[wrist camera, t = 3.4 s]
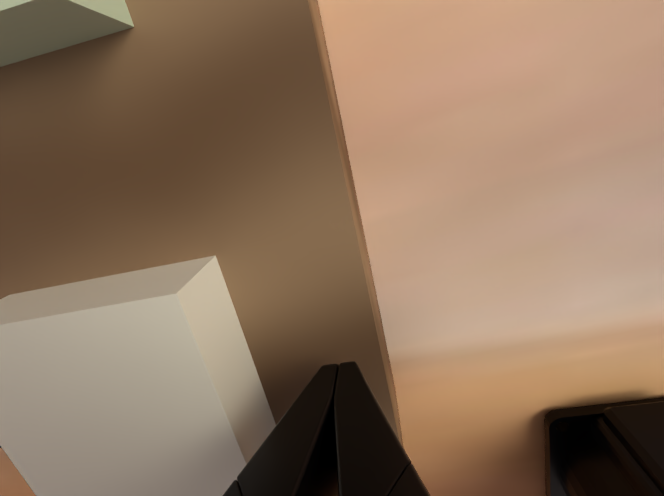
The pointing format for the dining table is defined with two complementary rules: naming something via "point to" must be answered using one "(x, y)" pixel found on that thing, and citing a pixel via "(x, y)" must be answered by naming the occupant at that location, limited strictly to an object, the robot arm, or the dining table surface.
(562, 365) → the dining table surface
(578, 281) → the dining table surface
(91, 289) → the tile cream
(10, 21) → the tile sage
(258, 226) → the deck
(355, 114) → the dining table surface
